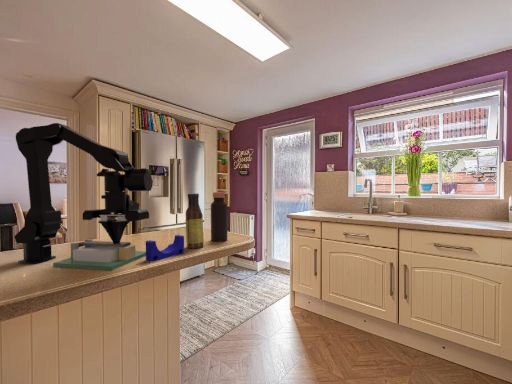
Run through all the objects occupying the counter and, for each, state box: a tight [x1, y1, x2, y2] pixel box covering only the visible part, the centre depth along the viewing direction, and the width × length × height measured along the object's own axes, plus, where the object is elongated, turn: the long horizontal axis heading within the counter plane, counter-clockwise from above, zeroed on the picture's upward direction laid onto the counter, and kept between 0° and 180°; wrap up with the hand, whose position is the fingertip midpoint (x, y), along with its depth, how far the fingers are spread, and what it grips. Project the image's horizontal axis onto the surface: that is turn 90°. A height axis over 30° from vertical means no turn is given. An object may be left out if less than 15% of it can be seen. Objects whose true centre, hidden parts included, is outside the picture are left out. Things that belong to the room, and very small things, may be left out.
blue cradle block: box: [145, 234, 185, 263], centre depth 82 cm, size 12×4×6 cm, turn 144°
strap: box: [78, 240, 132, 248], centre depth 78 cm, size 17×3×1 cm, turn 79°
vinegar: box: [210, 191, 228, 242], centre depth 106 cm, size 7×7×20 cm
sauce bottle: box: [185, 192, 205, 249], centre depth 94 cm, size 6×6×20 cm
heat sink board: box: [52, 238, 146, 271], centre depth 77 cm, size 19×16×6 cm
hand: (116, 243), depth 77 cm, fingers closed, pressing on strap
